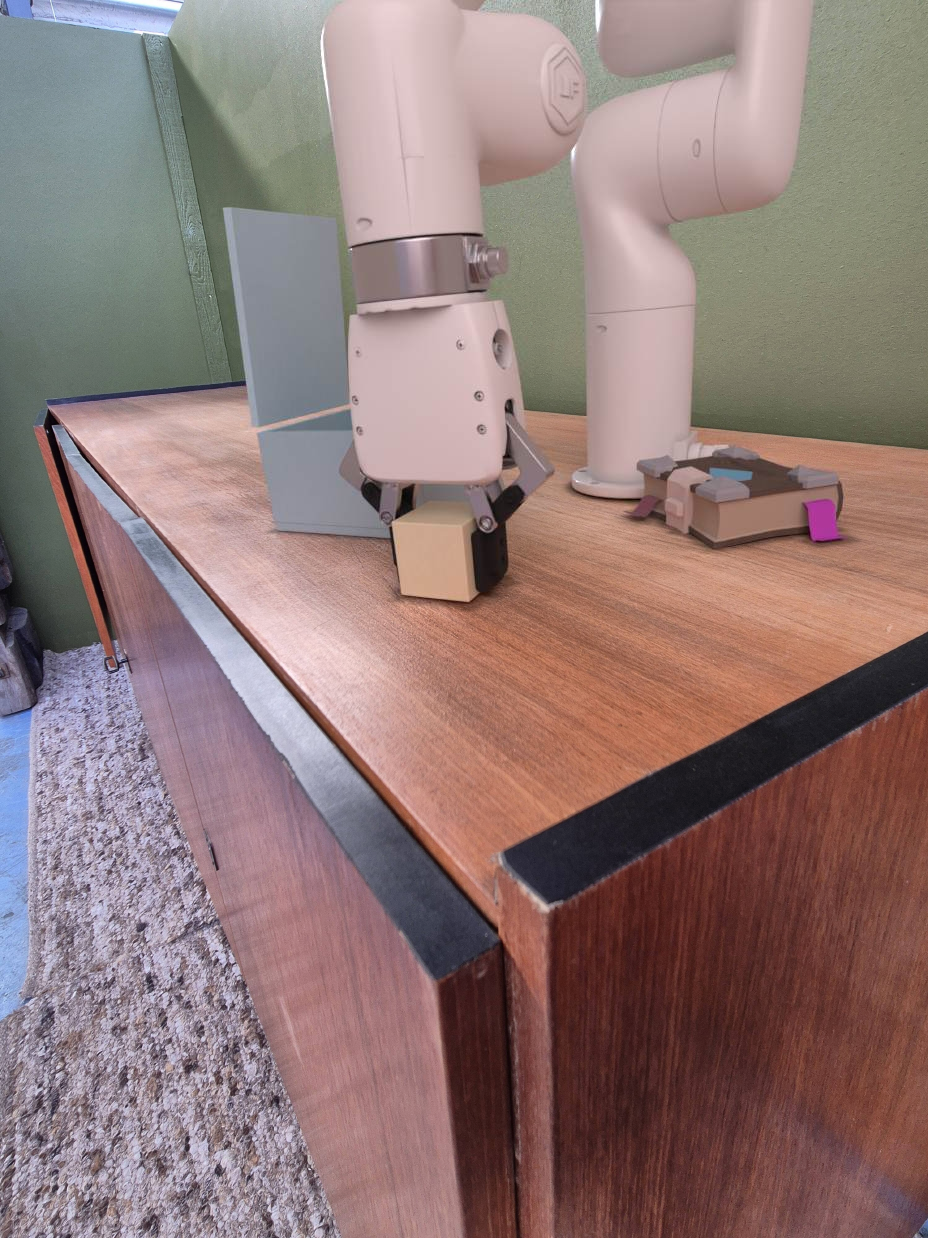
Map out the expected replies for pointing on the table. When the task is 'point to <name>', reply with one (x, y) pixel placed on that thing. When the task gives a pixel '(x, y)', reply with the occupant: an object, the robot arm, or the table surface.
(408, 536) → the block
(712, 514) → the book
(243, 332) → the lid
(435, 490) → the chest
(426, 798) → the table surface
